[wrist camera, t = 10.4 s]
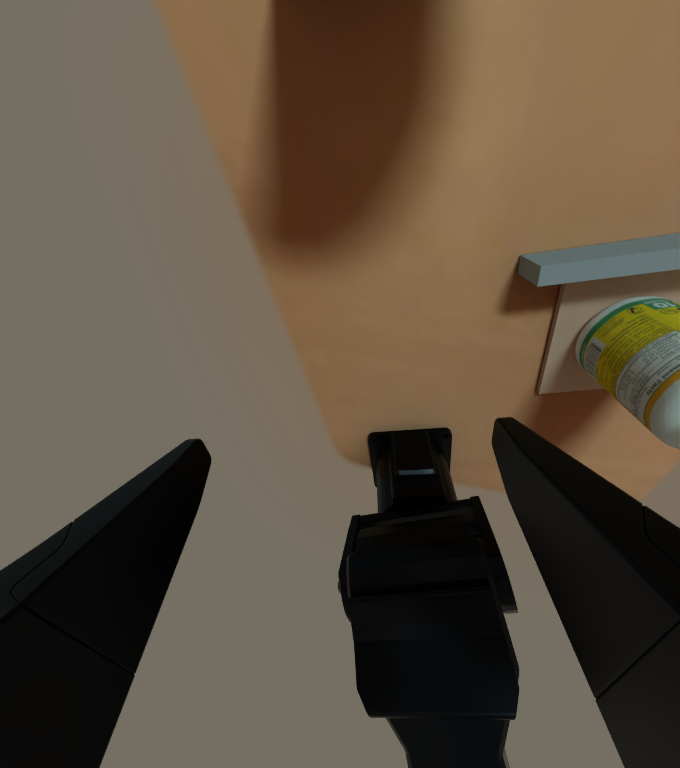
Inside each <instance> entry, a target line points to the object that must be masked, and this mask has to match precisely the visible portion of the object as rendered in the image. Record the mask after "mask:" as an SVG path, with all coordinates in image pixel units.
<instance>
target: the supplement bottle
mask: <svg viewBox="0 0 680 768" xmlns="http://www.w3.org/2000/svg"><path fill="white" fill-rule="evenodd" d="M575 353H576V359H577V361H578V363H579V365H580V366H581V368H582V369H583V370H584V371H585V372H586V373H587V374H588V375H590V376H591V377H592V378H593V379H594V380H595V381H596V382H597V383H599V384H600V385H601V386H602V387H603V388H604V389H605V390H606V391H607V392H608V393H610V394H611V395H612V396H613V397H614V398H615V399H616V400H617V401H618V402H619V403H621V404H622V405H623V406H624V407H625V408H626V409H627V410H628V411H629V412H630V413H631V414H632V415H634V416H635V417H636V418H637V419H638V420H639V421H640V422H641V423H642V424H643V425H644V426H645V427H646V428H647V429H649V430H650V431H651V432H652V433H653V434H654V435H655V436H656V437H657V438H659V439H660V440H661V441H663V442H664V443H666V444H668V445H669V446H672V447H674V448H677V449H680V304H678V303H676V302H673V301H671V300H668V299H665V298H661V297H655V296H649V297H635V298H629V299H626V300H623V301H620V302H618V303H615V304H613V305H611V306H609V307H607V308H606V309H604V310H603V311H601V312H600V313H599V314H597V315H596V316H595V317H594V318H593V319H592V320H591V321H590V322H589V323H588V324H587V325H586V326H585V327H584V329H583V330H582V332H581V334H580V336H579V338H578V340H577V343H576V349H575Z"/></svg>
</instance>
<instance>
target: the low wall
mask: <svg viewBox="0 0 680 768" xmlns="http://www.w3.org/2000/svg"><path fill="white" fill-rule="evenodd" d="M677 269H680V233H677V234H670V235H663V236H656V237H648V238H641V239H634V240H627V241H619V242H612V243H605V244H598V245H591V246H583V247H576V248H569V249H562V250H554V251H547V252H540V253H533V254H525V255H520V261H519V267H518V274H519V275H520V276H522V277H523V278H525V279H526V280H528V281H529V282H531V283H532V284H534V285H535V286H537V287H540V286H548V285H556V284H564V283H572V282H580V281H588V280H596V279H605V278H613V277H621V276H629V275H637V274H645V273H653V272H661V271H669V270H677Z"/></svg>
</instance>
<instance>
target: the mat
mask: <svg viewBox="0 0 680 768" xmlns="http://www.w3.org/2000/svg"><path fill="white" fill-rule="evenodd" d="M649 296H655V297H661V298H665V299H668V300H671V301H673V302H676V303H678V304H680V269H677V270H669V271H661V272H653V273H645V274H637V275H629V276H621V277H613V278H605V279H596V280H588V281H580V282H572V283H564V284H561V288H560V292H559V296H558V300H557V305H556V309H555V313H554V317H553V322H552V326H551V330H550V334H549V339H548V343H547V347H546V351H545V356H544V360H543V364H542V369H541V373H540V377H539V381H538V386H537V390H536V391H537V392H538V394H547V393H560V392H573V391H586V390H599V389H604V388H603V387H602V386H601V385H600V384H599V383H597V382H596V381H595V380H594V379H593V378H592V377H591V376H590V375H588V374H587V373H586V372H585V371H584V370H583V369H582V368H581V366H580V365H579V363H578V361H577V359H576V353H575V349H576V343H577V340H578V338H579V336H580V334H581V332H582V330H583V329H584V327H585V326H586V325H587V324H588V323H589V322H590V321H591V320H592V319H593V318H594V317H595V316H596V315H597V314H599V313H600V312H601V311H603V310H604V309H606V308H607V307H609V306H611V305H613V304H615V303H618V302H620V301H623V300H626V299H629V298H635V297H649Z"/></svg>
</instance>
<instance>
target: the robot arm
mask: <svg viewBox="0 0 680 768" xmlns="http://www.w3.org/2000/svg"><path fill="white" fill-rule="evenodd" d="M443 434H446V435H443ZM373 438H376V439H373ZM368 442H369V449H370V456H371V463H372V470H373V477H374V483H375V486H376V487H377V496H378V497H377V498H378V513H375V514H369V515H362V516H360V515H354V516H352V519H351V523H350V526H349V529H348V534H347V538H346V543H345V547H344V551H343V555H342V560H341V564H340V568H339V581H338V590H339V592H340V593H341V596H342V602H343V606H344V610H345V613H346V615H347V618H348V619H349V621H350V622H351V625H352V632H353V639H354V651H355V665H356V682H357V683H356V684H357V690H358V693H359V695H360V698H361V700H362V702H363V705H364V707H365V710H366V712H367V714H368V715H369V716H370V717H371V718H386V719H387V721H388V723H389V724H390V726H391V728H392V729H393V731H394V732H395V734H396V736H397V738H398V739H399V741H400V743H401V744H402V746H403V747H404V750H405V752H406V757H407V763H408V768H510V767H509V763H508V760H507V756H506V751H505V748H504V746H505V741H506V737H507V731H508V727H509V722H510V720H515V718H516V712H517V704H518V696H519V686H518V677H519V666H518V662H517V659H516V655H515V652H514V648H513V645H512V641H511V638H510V635H509V631H508V628H507V624H506V621H505V617H504V614H503V613H518V610H517V605H516V601H515V597H514V593H513V590H512V587H511V583H510V580H509V577H508V574H507V570H506V567H505V565H504V561H503V558H502V555H501V553H500V550H499V547H498V544H497V542H496V539H495V537H494V534H493V531H492V529H491V526H490V524H489V521H488V519H487V516H486V514H485V511H484V508H483V506H482V504H481V501H480V498H479V496H473V497H470V499H464V500H457V497H456V493H455V490H454V486H453V483H452V479H451V475H450V461H451V444H452V434H451V430H450V429H448V428H432V429H417V430H402V431H386V432H373V433H370V434H369V436H368ZM492 446H493V450H494V453H495V457H496V460H497V463H498V467H499V470H500V473H501V477H502V480H503V484H504V487H505V490H506V493H507V496H508V499H509V501H510V503H511V506H512V508H513V511H514V513H515V515H516V518H517V520H518V522H519V525H520V527H521V528H522V531H523V533H524V536H525V538H526V541H527V543H528V545H529V548H530V550H531V552H532V555H533V557H534V559H535V561H536V563H537V566H538V568H539V571H540V573H541V575H542V577H543V580H544V582H545V585H546V587H547V589H548V591H549V594H550V596H551V598H552V601H553V603H554V605H555V607H556V610H557V612H558V614H559V617H560V619H561V621H562V624H563V626H564V628H565V631H566V633H567V635H568V638H569V640H570V642H571V644H572V647H573V649H574V651H575V654H576V656H577V658H578V661H579V663H580V665H581V668H582V670H583V672H584V674H585V677H586V679H587V681H588V684H589V686H590V688H591V690H592V693H593V695H594V697H595V698H597V699H596V703H597V705H598V707H599V710H600V712H601V714H602V716H603V719H604V721H605V723H606V725H607V728H608V730H609V732H610V735H611V737H612V740H613V742H614V744H615V746H616V749H617V751H618V753H619V756H620V758H621V760H622V763H623V765H624V767H625V768H680V528H679V527H677V526H676V525H674V524H672V523H671V522H670V521H668V520H666V519H665V518H663V517H662V516H660V515H659V514H657V513H656V512H654V511H653V510H651V509H650V508H648V507H647V506H643V505H642V503H641V502H639V501H638V500H636V499H635V498H633V497H632V496H630V495H628V494H627V493H625V492H624V491H622V490H621V489H619V488H618V487H616V486H615V485H613V484H612V483H610V482H609V481H607V480H606V479H604V478H603V477H601V476H600V475H598V474H597V473H595V472H594V471H592V470H591V469H589V468H588V467H586V466H585V465H583V464H582V463H580V462H579V461H577V460H576V459H574V458H573V457H571V456H570V455H568V454H567V453H565V452H564V451H562V450H561V449H559V448H558V447H556V446H555V445H553V444H552V443H550V442H549V441H547V440H546V439H544V438H543V437H541V436H540V435H538V434H537V433H535V432H534V431H532V430H531V429H529V428H528V427H526V426H525V425H523V424H522V423H520V422H519V421H517V420H515V419H514V418H512V417H504V418H497V419H496V420H495V423H494V429H493V435H492ZM210 465H211V456H210V454H209V452H208V450H207V448H206V446H205V445H204V443H203V441H202V440H201V439H188V440H186V441H184V442H183V443H181V444H180V445H179V446H177V447H176V448H175V449H173V450H172V451H170V452H169V453H167V454H166V455H165V456H163V457H162V458H161V459H159V460H158V461H156V462H155V463H153V464H152V465H151V466H149V467H148V468H147V469H145V470H144V471H142V472H141V473H139V474H138V475H137V476H135V477H134V478H132V479H131V480H130V481H128V482H127V483H125V485H123V486H121V487H120V488H118V489H117V490H116V491H114V492H113V493H111V494H110V495H109V496H107V497H106V498H104V499H103V500H102V501H101V502H99V503H97V504H96V505H95V506H93V507H92V508H90V509H89V510H88V511H86V512H85V513H83V514H82V515H81V516H79V517H78V518H76V519H75V520H74V522H71V523H69V524H68V525H67V526H65V527H64V528H63V529H61V530H60V531H58V532H57V533H55V534H54V535H52V536H51V537H49V538H48V539H47V540H45V541H44V542H42V543H41V544H40V545H38V546H37V547H35V548H34V549H32V550H31V551H29V552H28V553H26V554H25V555H23V556H22V557H20V558H19V559H17V560H16V561H14V562H12V563H11V564H9V565H8V566H7V567H5V568H3V569H2V570H0V768H100V765H101V762H102V760H103V757H104V755H105V752H106V749H107V746H108V744H109V742H110V739H111V736H112V734H113V731H114V728H115V726H116V723H117V720H118V718H119V715H120V713H121V710H122V708H123V705H124V702H125V700H126V697H127V695H128V692H129V689H130V686H131V684H132V681H133V679H134V674H135V673H136V671H137V668H138V665H139V663H140V660H141V657H142V655H143V652H144V650H145V647H146V644H147V641H148V639H149V637H150V634H151V631H152V629H153V626H154V624H155V621H156V618H157V616H158V613H159V611H160V608H161V605H162V603H163V600H164V597H165V595H166V592H167V590H168V587H169V584H170V582H171V579H172V577H173V574H174V571H175V569H176V566H177V564H178V560H179V558H180V555H181V553H182V550H183V548H184V545H185V542H186V540H187V538H188V535H189V532H190V529H191V527H192V524H193V522H194V519H195V517H196V514H197V511H198V508H199V505H200V502H201V498H202V495H203V491H204V488H205V484H206V480H207V477H208V473H209V469H210Z"/></svg>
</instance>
